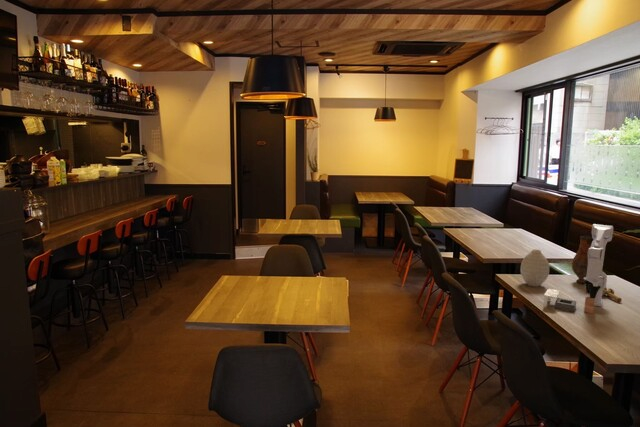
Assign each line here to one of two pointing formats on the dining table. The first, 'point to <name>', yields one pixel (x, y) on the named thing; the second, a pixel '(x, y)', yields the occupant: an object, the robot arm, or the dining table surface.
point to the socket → (565, 304)
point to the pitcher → (582, 259)
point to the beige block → (550, 296)
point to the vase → (535, 268)
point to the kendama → (611, 294)
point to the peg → (589, 305)
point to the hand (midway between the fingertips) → (590, 295)
